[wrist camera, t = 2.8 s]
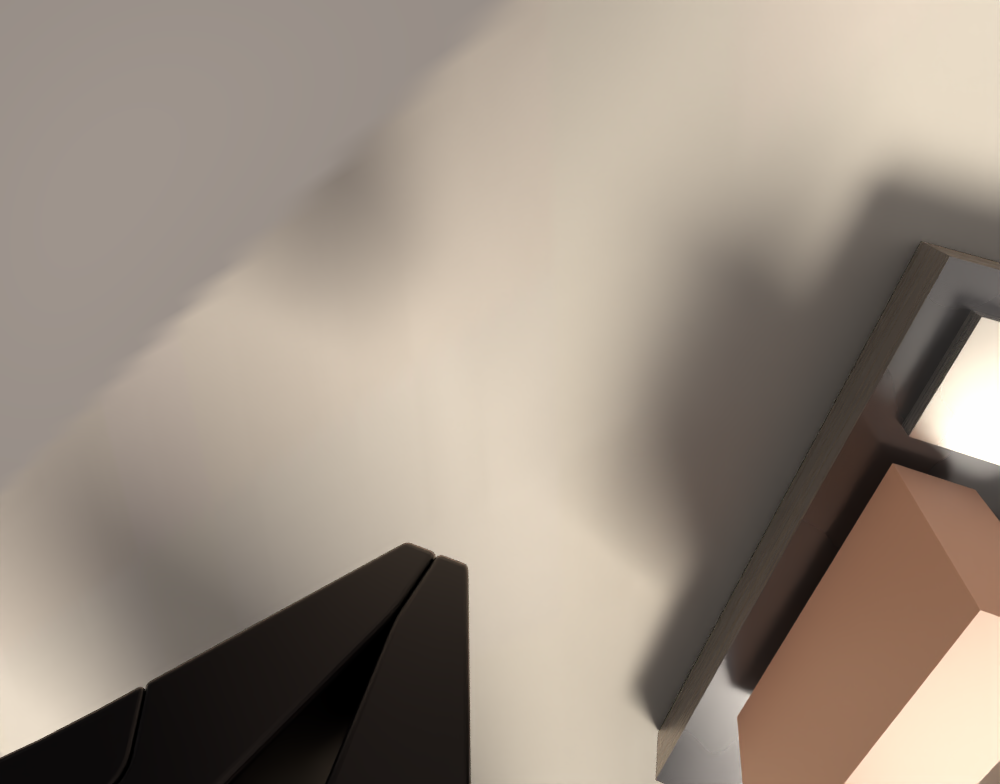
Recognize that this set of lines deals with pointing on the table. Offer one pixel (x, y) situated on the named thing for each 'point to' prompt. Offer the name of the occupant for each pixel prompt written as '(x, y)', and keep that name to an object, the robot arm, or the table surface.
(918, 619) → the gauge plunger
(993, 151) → the table surface
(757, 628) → the frame
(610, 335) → the table surface
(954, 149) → the table surface
